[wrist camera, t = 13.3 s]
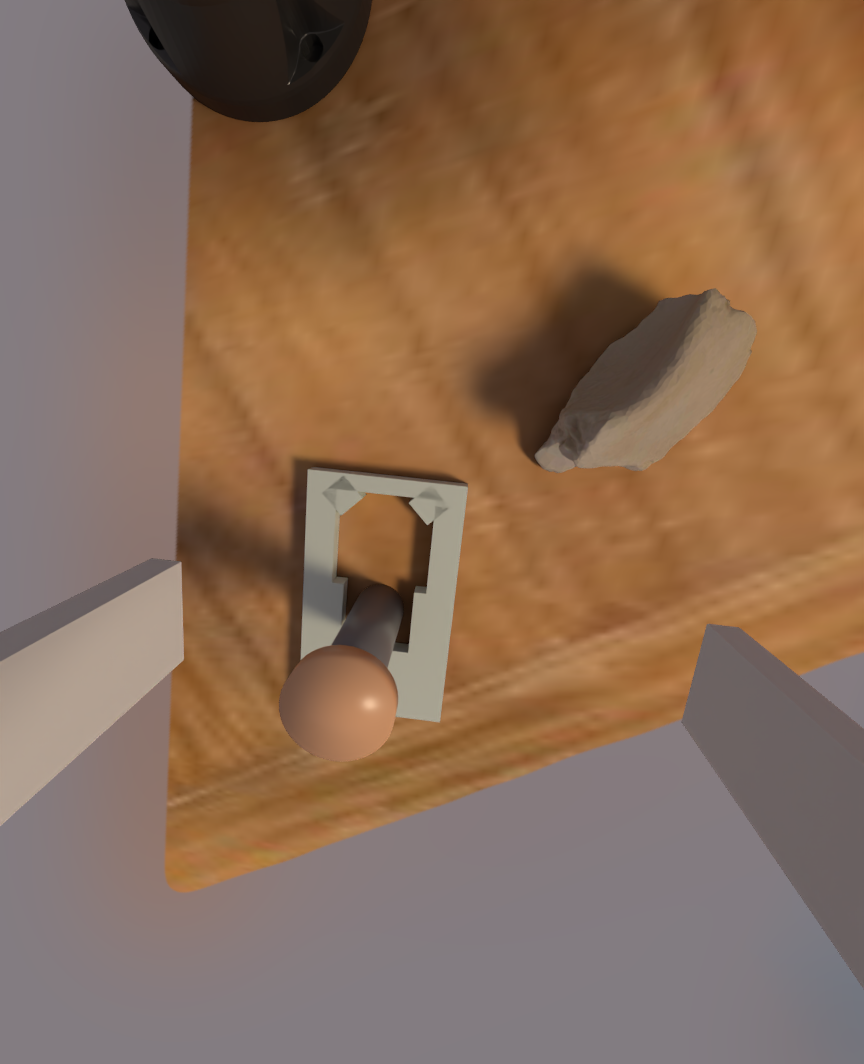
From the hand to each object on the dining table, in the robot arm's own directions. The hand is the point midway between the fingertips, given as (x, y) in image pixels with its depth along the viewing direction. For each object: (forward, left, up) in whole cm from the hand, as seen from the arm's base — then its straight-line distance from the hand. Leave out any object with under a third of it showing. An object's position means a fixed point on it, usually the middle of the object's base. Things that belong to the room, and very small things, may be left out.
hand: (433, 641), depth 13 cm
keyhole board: (+10, -5, -27) cm, 29 cm away
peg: (+11, -5, -27) cm, 29 cm away
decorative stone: (-7, +12, -27) cm, 31 cm away
